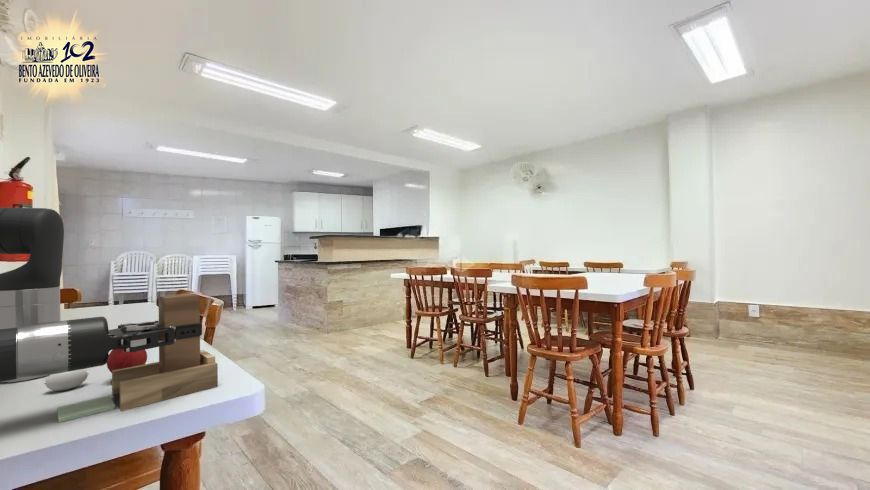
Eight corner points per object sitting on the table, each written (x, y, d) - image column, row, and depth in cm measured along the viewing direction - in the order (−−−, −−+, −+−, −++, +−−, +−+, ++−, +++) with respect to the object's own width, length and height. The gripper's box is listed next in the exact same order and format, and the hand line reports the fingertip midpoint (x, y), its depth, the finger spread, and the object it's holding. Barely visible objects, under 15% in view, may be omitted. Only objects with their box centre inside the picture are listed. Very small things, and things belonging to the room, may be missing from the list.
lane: (217, 386, 65) (217, 357, 65) (120, 410, 55) (120, 377, 55) (200, 374, 72) (200, 348, 72) (112, 394, 62) (111, 364, 62)
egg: (93, 385, 67) (93, 364, 67) (47, 397, 62) (47, 374, 62) (85, 382, 69) (85, 361, 69) (39, 393, 64) (39, 370, 64)
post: (159, 376, 65) (158, 296, 65) (192, 369, 68) (191, 293, 69) (165, 382, 61) (164, 298, 62) (200, 374, 65) (199, 295, 65)
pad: (57, 410, 56) (57, 407, 56) (109, 398, 60) (109, 395, 60) (58, 422, 52) (58, 418, 52) (114, 408, 56) (114, 405, 56)
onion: (124, 385, 66) (123, 340, 66) (98, 384, 67) (98, 339, 68) (154, 374, 72) (154, 333, 72) (130, 373, 73) (130, 333, 73)
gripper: (66, 326, 50) (209, 310, 62) (61, 315, 60) (186, 303, 72) (66, 382, 50) (209, 354, 62) (62, 362, 59) (186, 342, 72)
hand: (196, 327), depth 67 cm, fingers closed on post, 5 cm apart
